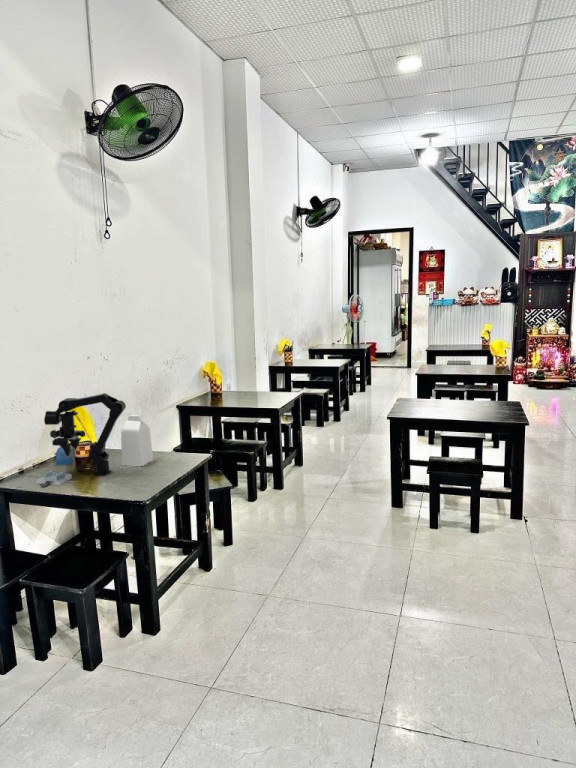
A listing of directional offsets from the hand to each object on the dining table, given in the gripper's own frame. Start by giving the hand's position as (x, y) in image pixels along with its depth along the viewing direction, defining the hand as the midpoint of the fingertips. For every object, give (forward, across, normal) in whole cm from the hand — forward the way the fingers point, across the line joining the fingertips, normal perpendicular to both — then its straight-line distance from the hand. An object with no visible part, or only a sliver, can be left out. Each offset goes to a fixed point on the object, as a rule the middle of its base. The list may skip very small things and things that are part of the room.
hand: (70, 454), depth 266 cm
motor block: (+10, +12, -3) cm, 16 cm away
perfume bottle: (+11, -16, -16) cm, 25 cm away
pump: (+1, 0, 0) cm, 1 cm away
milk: (+10, -22, +24) cm, 34 cm away
